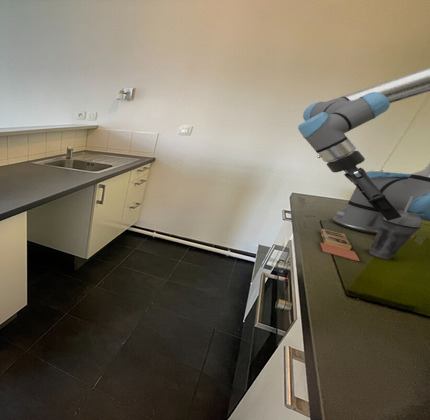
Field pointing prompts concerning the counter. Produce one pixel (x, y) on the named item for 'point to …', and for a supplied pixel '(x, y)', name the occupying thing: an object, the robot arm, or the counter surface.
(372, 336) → the counter surface
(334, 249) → the slot pad
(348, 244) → the oak tile
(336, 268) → the counter surface
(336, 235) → the oak tile
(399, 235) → the beverage cup
